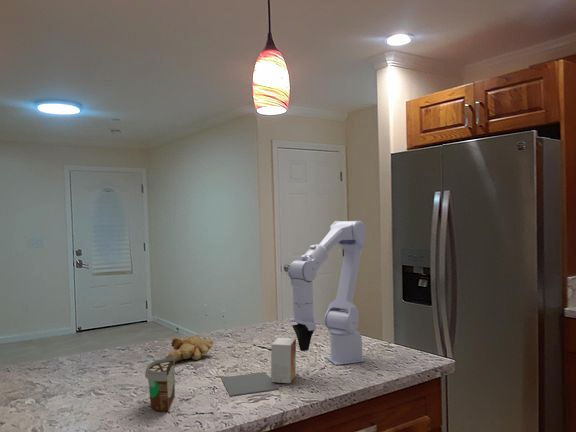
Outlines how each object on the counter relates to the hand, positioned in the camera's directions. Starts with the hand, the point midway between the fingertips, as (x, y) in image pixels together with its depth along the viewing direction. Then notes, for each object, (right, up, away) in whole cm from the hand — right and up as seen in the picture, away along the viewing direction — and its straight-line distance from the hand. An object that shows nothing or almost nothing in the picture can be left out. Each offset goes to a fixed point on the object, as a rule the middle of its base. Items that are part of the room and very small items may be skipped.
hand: (304, 350), depth 134 cm
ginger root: (-37, -9, +22) cm, 44 cm away
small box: (-6, -8, -2) cm, 10 cm away
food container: (-36, -9, -18) cm, 42 cm away
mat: (-15, -8, -5) cm, 18 cm away
